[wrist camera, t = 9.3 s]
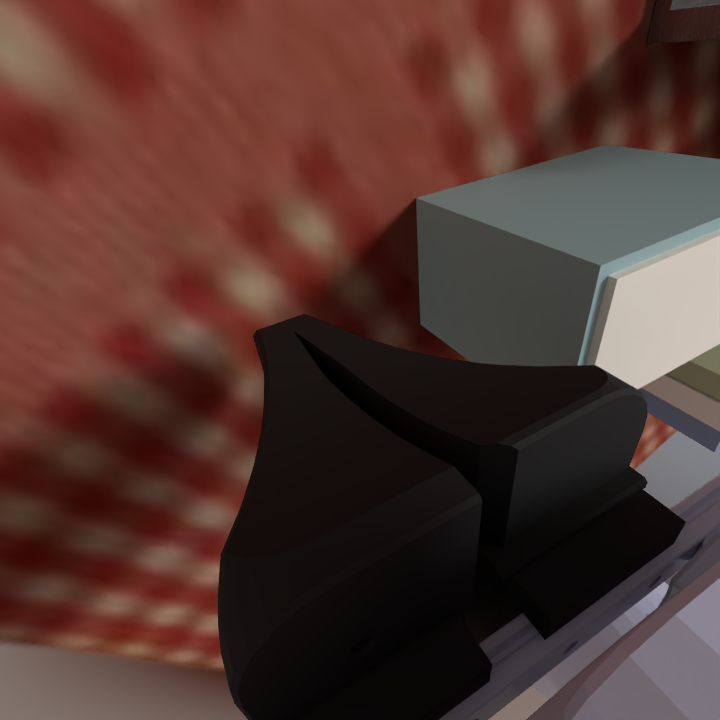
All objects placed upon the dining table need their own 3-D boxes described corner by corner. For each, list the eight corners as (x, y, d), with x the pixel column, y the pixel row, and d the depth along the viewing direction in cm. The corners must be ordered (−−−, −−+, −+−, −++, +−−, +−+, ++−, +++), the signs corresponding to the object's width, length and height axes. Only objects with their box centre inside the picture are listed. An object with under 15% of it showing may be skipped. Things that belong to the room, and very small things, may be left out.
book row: (691, 309, 25) (852, 370, 19) (572, 367, 22) (725, 458, 16) (711, 257, 23) (895, 309, 18) (585, 313, 20) (761, 396, 15)
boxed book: (580, 260, 18) (760, 327, 13) (419, 323, 15) (569, 435, 11) (603, 144, 15) (839, 174, 11) (414, 197, 13) (610, 269, 8)
